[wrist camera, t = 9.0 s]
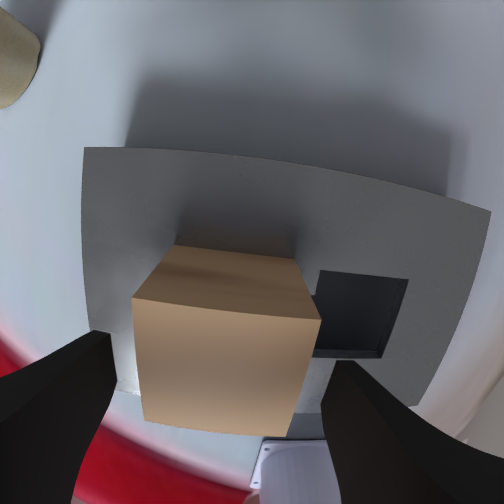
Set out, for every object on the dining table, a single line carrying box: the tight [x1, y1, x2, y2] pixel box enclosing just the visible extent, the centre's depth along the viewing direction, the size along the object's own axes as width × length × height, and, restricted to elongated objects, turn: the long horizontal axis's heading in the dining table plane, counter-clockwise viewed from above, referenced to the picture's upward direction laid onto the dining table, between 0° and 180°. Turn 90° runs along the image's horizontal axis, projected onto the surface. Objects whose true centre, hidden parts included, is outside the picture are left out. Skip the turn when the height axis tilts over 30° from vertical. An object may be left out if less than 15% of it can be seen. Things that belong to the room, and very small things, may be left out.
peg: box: [132, 245, 321, 437], centre depth 12 cm, size 5×5×7 cm
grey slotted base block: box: [81, 147, 491, 413], centre depth 15 cm, size 13×20×4 cm, turn 83°
